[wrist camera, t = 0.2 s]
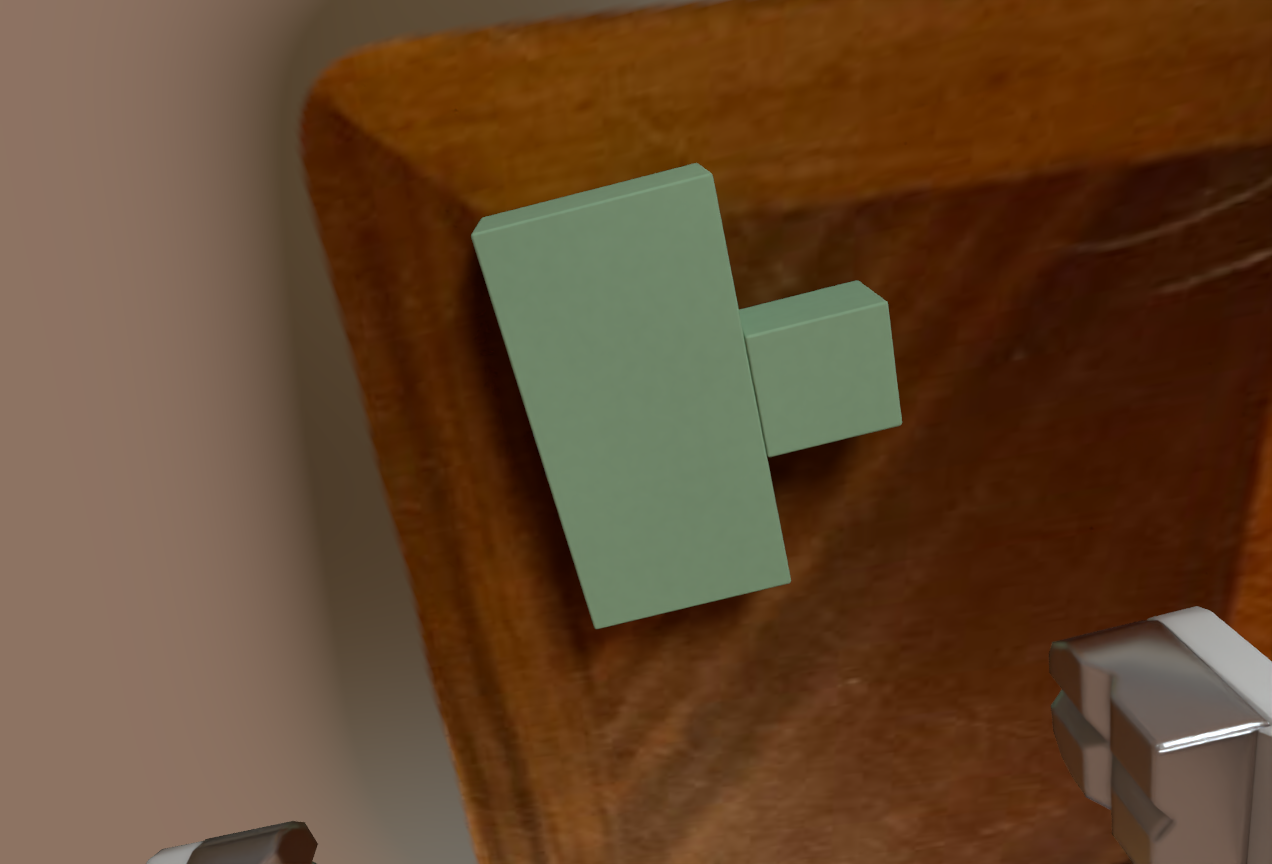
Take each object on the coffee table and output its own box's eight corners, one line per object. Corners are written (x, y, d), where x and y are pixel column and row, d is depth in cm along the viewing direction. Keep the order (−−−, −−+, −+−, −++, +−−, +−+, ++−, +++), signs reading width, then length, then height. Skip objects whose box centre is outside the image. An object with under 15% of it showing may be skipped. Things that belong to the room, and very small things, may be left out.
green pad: (480, 218, 23) (469, 234, 20) (838, 126, 22) (868, 132, 20) (593, 584, 27) (594, 630, 25) (888, 512, 27) (918, 553, 25)
